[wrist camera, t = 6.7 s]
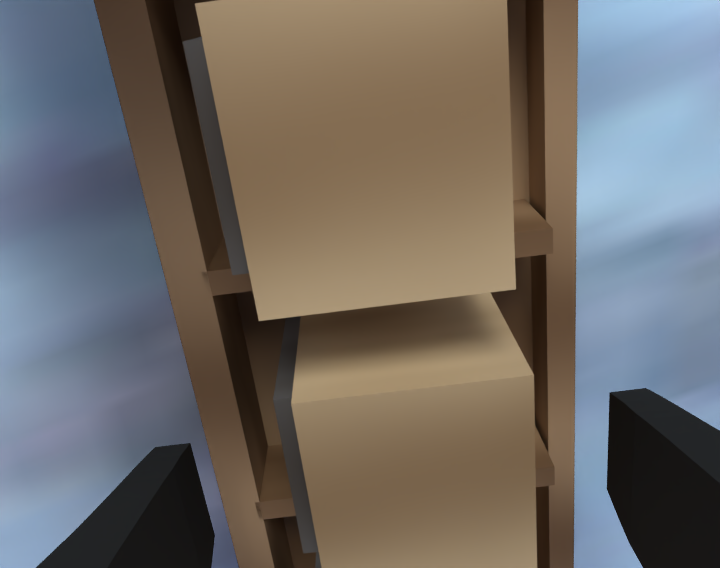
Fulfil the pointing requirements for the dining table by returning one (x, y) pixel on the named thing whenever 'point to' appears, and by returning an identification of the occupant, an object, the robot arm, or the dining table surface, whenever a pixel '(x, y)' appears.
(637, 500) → the robot arm
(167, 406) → the dining table surface
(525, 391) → the tan rectangular block
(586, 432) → the dining table surface
